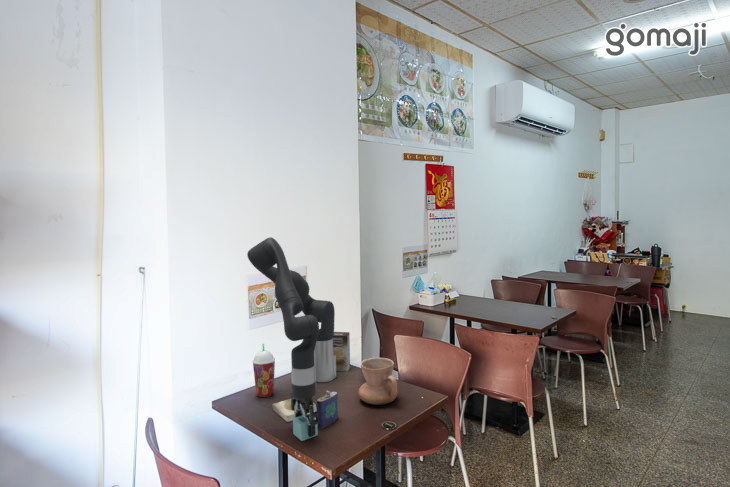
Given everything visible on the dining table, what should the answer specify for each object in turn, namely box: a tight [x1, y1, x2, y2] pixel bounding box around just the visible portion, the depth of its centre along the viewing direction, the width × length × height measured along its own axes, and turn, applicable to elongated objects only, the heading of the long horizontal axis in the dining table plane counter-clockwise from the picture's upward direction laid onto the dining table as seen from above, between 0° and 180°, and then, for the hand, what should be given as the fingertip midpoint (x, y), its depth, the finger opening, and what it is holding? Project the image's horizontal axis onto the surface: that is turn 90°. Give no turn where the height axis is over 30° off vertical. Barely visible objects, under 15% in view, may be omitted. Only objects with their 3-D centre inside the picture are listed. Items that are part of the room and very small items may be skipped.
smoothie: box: [252, 343, 276, 398], centre depth 163 cm, size 8×8×20 cm
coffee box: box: [333, 331, 351, 372], centre depth 190 cm, size 9×6×16 cm
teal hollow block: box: [292, 413, 319, 442], centre depth 132 cm, size 6×6×5 cm
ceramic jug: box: [357, 357, 399, 406], centre depth 155 cm, size 18×14×14 cm
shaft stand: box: [272, 398, 316, 423], centre depth 149 cm, size 12×12×9 cm
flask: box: [316, 390, 339, 430], centre depth 140 cm, size 9×3×11 cm, turn 144°
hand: (305, 430), depth 132 cm, fingers open, 8 cm apart
